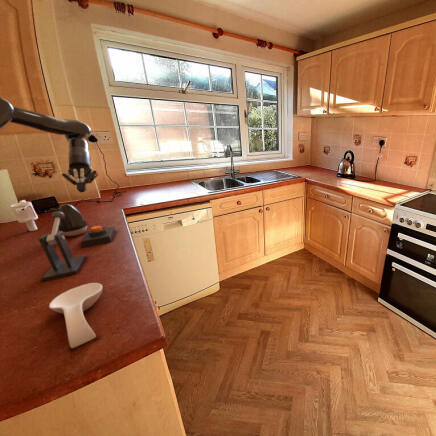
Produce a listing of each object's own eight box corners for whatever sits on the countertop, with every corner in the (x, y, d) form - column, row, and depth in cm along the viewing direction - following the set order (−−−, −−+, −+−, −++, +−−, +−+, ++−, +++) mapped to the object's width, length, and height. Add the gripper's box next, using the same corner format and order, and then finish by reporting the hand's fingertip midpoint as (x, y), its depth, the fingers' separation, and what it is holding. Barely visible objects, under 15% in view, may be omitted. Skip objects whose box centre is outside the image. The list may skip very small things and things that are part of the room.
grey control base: (90, 236, 114) (86, 227, 112) (115, 231, 118) (112, 223, 116) (83, 247, 104) (79, 237, 102) (111, 241, 108) (107, 232, 106)
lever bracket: (56, 263, 92) (40, 231, 87) (85, 257, 95) (72, 225, 90) (43, 281, 82) (24, 245, 77) (76, 273, 85) (61, 238, 80)
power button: (93, 230, 110) (92, 226, 109) (103, 228, 112) (101, 224, 111) (91, 233, 107) (90, 229, 106) (101, 231, 109) (100, 227, 108)
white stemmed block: (45, 225, 128) (32, 198, 122) (39, 230, 122) (25, 202, 116) (27, 228, 125) (13, 201, 119) (20, 234, 119) (5, 205, 113)
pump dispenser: (62, 234, 117) (48, 204, 111) (88, 227, 123) (77, 199, 118) (62, 241, 110) (48, 209, 104) (91, 233, 116) (79, 203, 111)
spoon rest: (54, 305, 71) (44, 284, 68) (103, 286, 78) (96, 268, 75) (53, 359, 54) (39, 335, 51) (115, 330, 61) (106, 307, 58)
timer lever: (55, 216, 93) (50, 210, 90) (66, 215, 94) (62, 208, 92) (48, 246, 84) (42, 240, 81) (60, 244, 85) (55, 238, 83)
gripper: (56, 155, 105) (57, 189, 100) (93, 152, 110) (96, 184, 105) (65, 165, 112) (67, 198, 106) (100, 162, 117) (103, 193, 111)
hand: (81, 191), depth 105 cm, fingers closed
